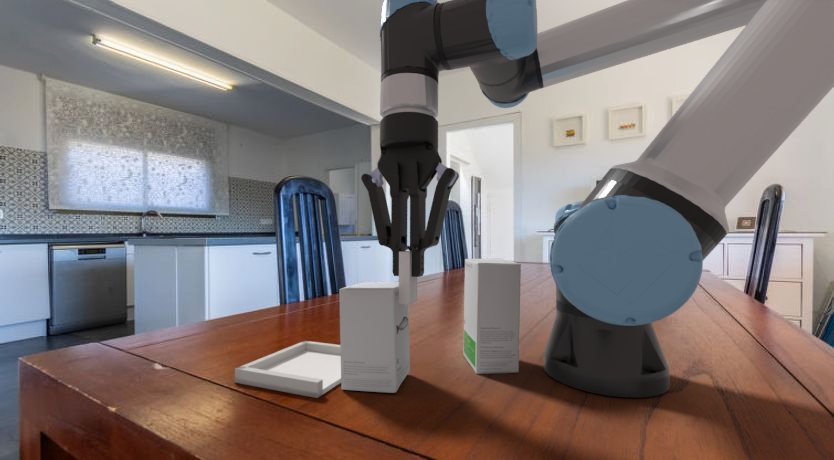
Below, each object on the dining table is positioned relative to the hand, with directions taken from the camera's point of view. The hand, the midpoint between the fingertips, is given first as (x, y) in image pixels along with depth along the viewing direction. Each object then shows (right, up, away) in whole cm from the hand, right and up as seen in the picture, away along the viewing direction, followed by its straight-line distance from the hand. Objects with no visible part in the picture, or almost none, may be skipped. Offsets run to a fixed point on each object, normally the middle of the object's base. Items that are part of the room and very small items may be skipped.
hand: (408, 302), depth 46 cm
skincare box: (+12, -11, +8) cm, 18 cm away
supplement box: (-4, -11, +1) cm, 11 cm away
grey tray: (-14, -11, +5) cm, 19 cm away
